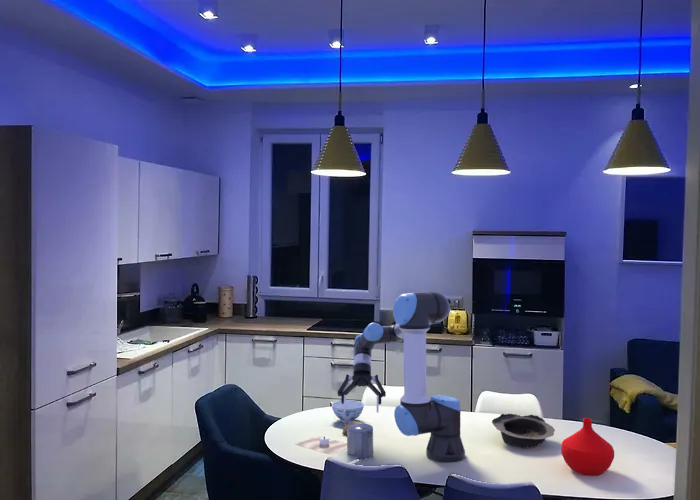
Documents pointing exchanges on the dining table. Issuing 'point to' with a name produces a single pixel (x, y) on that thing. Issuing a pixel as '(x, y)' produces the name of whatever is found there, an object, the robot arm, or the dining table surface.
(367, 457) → the steel tin
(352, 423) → the bread roll
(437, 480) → the dining table surface
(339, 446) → the striped cloth
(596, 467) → the vase
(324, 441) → the candle
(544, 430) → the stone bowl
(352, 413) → the chinaware
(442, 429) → the robot arm
